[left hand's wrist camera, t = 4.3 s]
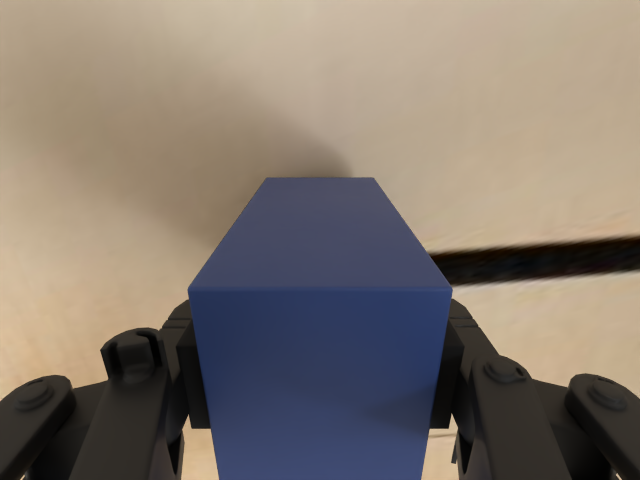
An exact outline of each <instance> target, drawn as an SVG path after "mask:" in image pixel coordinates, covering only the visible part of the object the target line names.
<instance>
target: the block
mask: <svg viewBox="0 0 640 480" xmlns="http://www.w3.org/2000/svg"><path fill="white" fill-rule="evenodd" d="M452 291H453V290H452V287H451V285H450V284H449V283H448V281H447V280H446V278H445V277H444V276H443V274H442V273H441V271H440V270H439V269H438V267H437V266H436V264H435V263H434V262H433V260H432V259H431V257H430V256H429V255H428V253H427V252H426V250H425V249H424V248H423V246H422V245H421V243H420V242H419V241H418V239H417V238H416V236H415V235H414V234H413V232H412V231H411V229H410V228H409V227H408V225H407V224H406V222H405V221H404V220H403V218H402V217H401V215H400V214H399V213H398V211H397V210H396V208H395V207H394V206H393V204H392V203H391V201H390V200H389V199H388V197H387V196H386V194H385V193H384V192H383V190H382V189H381V187H380V186H379V185H378V183H377V182H376V180H375V179H374V178H266V179H265V181H264V182H263V183H262V185H261V186H260V188H259V189H258V190H257V192H256V193H255V195H254V196H253V197H252V199H251V200H250V202H249V203H248V204H247V206H246V207H245V209H244V210H243V211H242V213H241V214H240V216H239V217H238V219H237V220H236V221H235V223H234V224H233V226H232V227H231V228H230V230H229V231H228V233H227V234H226V235H225V237H224V238H223V240H222V241H221V242H220V244H219V245H218V247H217V248H216V249H215V251H214V252H213V254H212V255H211V256H210V258H209V259H208V261H207V262H206V263H205V265H204V266H203V268H202V269H201V270H200V272H199V273H198V275H197V276H196V277H195V279H194V280H193V282H192V283H191V284H190V286H189V287H188V295H189V301H190V307H191V313H192V319H193V325H194V331H195V337H196V343H197V349H198V355H199V361H200V367H201V373H202V379H203V385H204V391H205V397H206V403H207V409H208V415H209V421H210V427H211V433H212V439H213V445H214V451H215V457H216V463H217V469H218V475H219V480H421V476H422V470H423V464H424V458H425V452H426V446H427V440H428V434H429V428H430V422H431V416H432V410H433V405H434V399H435V393H436V387H437V381H438V375H439V369H440V363H441V357H442V351H443V345H444V339H445V333H446V327H447V321H448V315H449V309H450V303H451V297H452Z"/></svg>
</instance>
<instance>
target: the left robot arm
mask: <svg viewBox="0 0 640 480" xmlns="http://www.w3.org/2000/svg"><path fill="white" fill-rule="evenodd" d="M100 351H101V355H102V358H103V361H104V365H105V368H106V371H107V374H108V380H107V381H104V382H100V383H96V384H92V385H87V386H83V387H79V388H74V389H73V388H72V385H71V382H70V380H69V379H67V378H66V377H65V376H60V375H51V376H44V377H41V378H38V379H35V380H32V381H29V382H27V383H25V384H24V385H22V386H20V387H18V388H16V389H15V390H13V391H12V392H11V393H10V394H8V395H7V396H6V397H5V398H3V399H2V400H1V401H0V480H20V479H21V478H22V476H23V475H25V477H24V478H23V480H181V474H182V463H183V453H184V436H183V431H182V429H183V426H184V424H185V421H186V419H187V417H188V414H189V418H190V423H191V428H192V429H211V427H210V421H209V415H208V409H207V403H206V397H205V391H204V385H203V379H202V373H201V367H200V361H199V355H198V349H197V343H196V337H195V331H194V325H193V319H192V313H191V307H190V301H189V300H186V301H185V302H183V303H182V304H180V305H179V306H178V307H176V308H175V309H174V310H173V312H172V313H171V315H170V316H169V318H168V320H166V322H165V323H164V325H163V326H162V329H160V330H159V331H158V330H157V329H152V328H136V329H132V330H128V331H125V332H123V333H121V334H119V335H116V336H114V337H113V338H112V339H110V340H109V341H108V342H106V343H105V344H104V346H103V347H102V348H101V350H100ZM451 414H453V417H454V419H455V422H456V424H457V426H458V431H457V436H456V440H455V445H454V450H453V455H452V461H451V463H454V464H456V461H457V462H458V473H459V480H619V479H618V477H617V476H616V474H617V473H618V475H619V476H620V477H621V479H622V480H640V399H639V398H638V397H637V396H636V395H634V394H633V393H632V392H631V391H629V390H628V389H627V388H626V387H624V386H622V385H620V384H618V383H616V382H614V381H612V380H610V379H607V378H604V377H601V376H598V375H592V374H578V375H575V376H574V377H573V378H572V379H571V380H570V383H569V386H568V387H563V386H559V385H555V384H550V383H546V382H541V381H538V380H535V379H532V378H531V376H530V375H529V373H528V372H527V370H526V369H525V368H523V367H522V366H521V365H520V364H518V363H517V362H515V361H513V360H511V359H509V358H507V357H504V356H500V355H499V354H498V352H497V351H496V350H495V348H494V347H493V345H492V344H491V343H490V341H489V340H488V338H487V337H486V335H485V334H484V333H483V331H482V330H481V328H480V327H478V324H477V323H476V321H475V320H474V319H473V318H472V316H471V314H470V313H469V312H468V310H467V309H466V307H464V306H463V305H462V304H460V303H459V302H457V301H456V300H454V299H451V303H450V309H449V315H448V321H447V327H446V333H445V339H444V345H443V351H442V357H441V363H440V369H439V375H438V381H437V387H436V393H435V399H434V405H433V410H432V416H431V422H430V428H429V429H449V424H450V419H451Z"/></svg>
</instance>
